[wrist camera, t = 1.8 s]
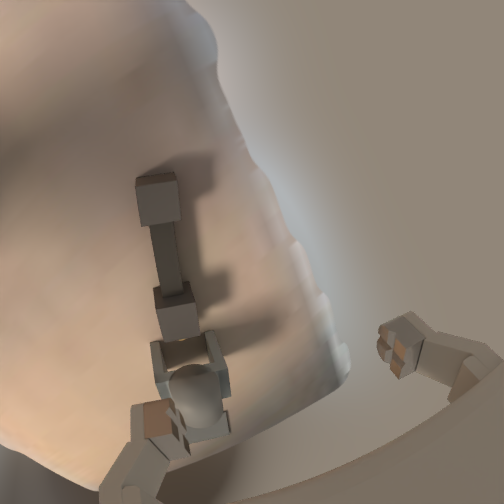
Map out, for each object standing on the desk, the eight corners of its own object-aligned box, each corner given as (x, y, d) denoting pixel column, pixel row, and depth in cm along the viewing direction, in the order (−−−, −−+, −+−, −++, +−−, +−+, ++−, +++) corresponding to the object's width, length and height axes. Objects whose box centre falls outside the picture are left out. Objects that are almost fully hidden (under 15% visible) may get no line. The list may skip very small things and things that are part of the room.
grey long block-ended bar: (133, 178, 30) (132, 188, 26) (175, 171, 31) (180, 181, 27) (162, 328, 39) (166, 351, 35) (195, 322, 40) (202, 344, 37)
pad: (177, 421, 49) (178, 422, 48) (225, 410, 51) (225, 412, 51) (186, 442, 53) (187, 444, 53) (228, 433, 56) (229, 434, 55)
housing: (149, 342, 39) (159, 409, 30) (213, 330, 42) (237, 392, 32) (159, 371, 42) (171, 434, 32) (217, 359, 45) (240, 419, 35)
